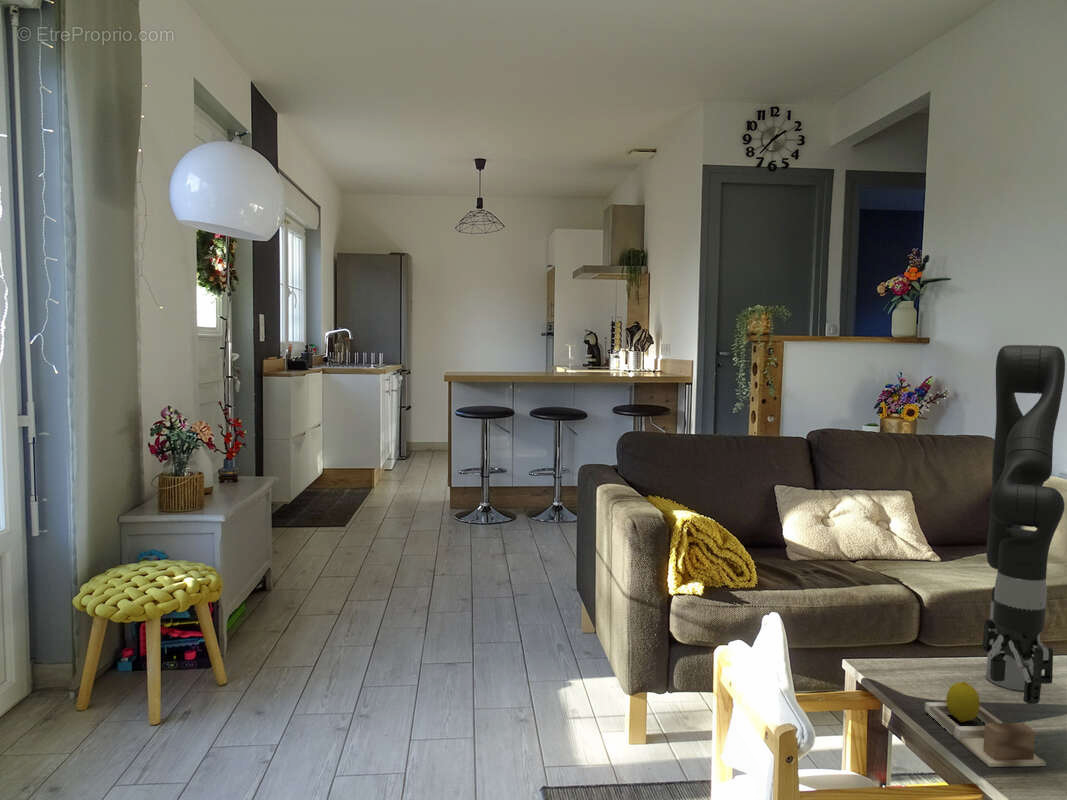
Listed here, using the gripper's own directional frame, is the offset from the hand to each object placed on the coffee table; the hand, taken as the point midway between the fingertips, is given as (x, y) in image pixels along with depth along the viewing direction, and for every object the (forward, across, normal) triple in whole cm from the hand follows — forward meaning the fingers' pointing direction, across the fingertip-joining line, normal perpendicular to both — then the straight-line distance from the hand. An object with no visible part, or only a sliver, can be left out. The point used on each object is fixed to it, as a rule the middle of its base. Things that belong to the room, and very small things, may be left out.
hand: (1013, 691), depth 134 cm
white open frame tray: (+12, +6, 0) cm, 14 cm away
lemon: (+13, +13, 0) cm, 18 cm away
